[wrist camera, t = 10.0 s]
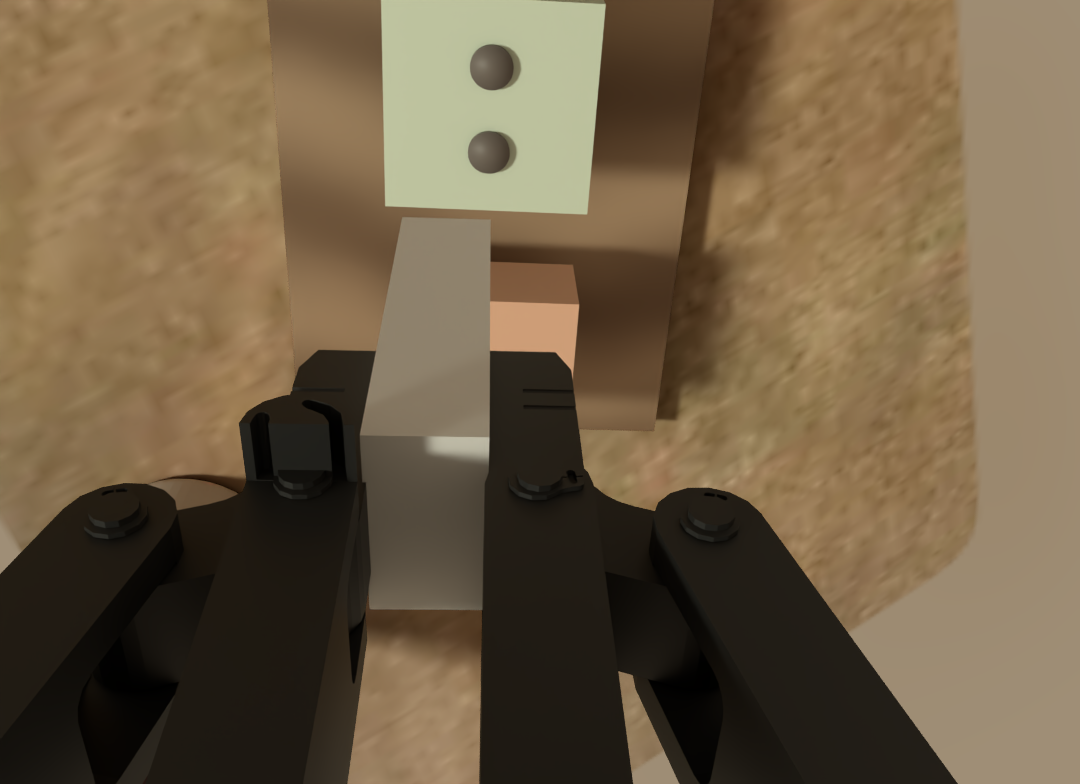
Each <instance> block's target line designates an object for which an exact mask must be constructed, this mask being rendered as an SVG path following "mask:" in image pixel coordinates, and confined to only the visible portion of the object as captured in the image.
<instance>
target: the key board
mask: <svg viewBox="0 0 1080 784" xmlns="http://www.w3.org/2000/svg"><path fill="white" fill-rule="evenodd" d="M714 1H715V0H604V2H605V4H606V7H605V18H604V30H603V41H602V52H601V64H600V75H599V86H598V98H597V109H596V120H595V132H594V143H593V154H592V166H591V177H590V188H589V200H588V211H587V215H586V214H562V213H538V212H514V211H490V210H466V209H441V208H417V207H393V206H385V172H384V121H383V71H382V21H381V0H267V3H268V16H269V29H270V43H271V56H272V70H273V83H274V96H275V110H276V123H277V137H278V150H279V163H280V177H281V190H282V204H283V217H284V230H285V244H286V257H287V270H288V284H289V297H290V311H291V324H292V337H293V351H294V364H295V378H296V375H297V371H298V368H299V367H300V366H301V365H302V364H303V363H304V362H305V361H306V360H308V359H309V358H310V357H311V356H312V355H313V354H314V353H315V352H317V351H318V350H355V351H376V349H377V344H378V339H379V334H380V329H381V324H382V319H383V313H384V308H385V303H386V298H387V293H388V288H389V283H390V278H391V272H392V267H393V262H394V257H395V252H396V247H397V242H398V237H399V231H400V226H401V221H402V217H415V218H451V219H487V220H491V232H490V262H511V263H537V264H564V265H573V269H574V275H575V281H576V287H577V294H578V300H579V313H578V324H577V336H576V347H575V358H574V370H573V387H574V395H575V402H576V410H577V418H578V426H579V429H591V430H626V431H654V428H655V421H656V414H657V406H658V399H659V392H660V385H661V378H662V371H663V364H664V357H665V349H666V342H667V335H668V328H669V321H670V314H671V307H672V300H673V292H674V285H675V278H676V271H677V264H678V257H679V250H680V243H681V236H682V228H683V221H684V214H685V207H686V200H687V193H688V186H689V179H690V171H691V164H692V157H693V150H694V143H695V136H696V129H697V122H698V114H699V107H700V100H701V93H702V86H703V79H704V72H705V65H706V58H707V50H708V43H709V36H710V29H711V22H712V15H713V8H714Z"/></svg>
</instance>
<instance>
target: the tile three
mask: <svg viewBox="0 0 1080 784" xmlns="http://www.w3.org/2000/svg"><path fill="white" fill-rule="evenodd" d="M578 313H579V300H578V294H577V287H576V281H575V275H574V269H573V265H564V264H537V263H511V262H490V351H524V352H556V353H557V355H558V356H559V357H560V358H561V359H562V360H563V361H564V362H565V363H566V365H567V366H568V367H569V368H570V369H571V371H572V379H573V370H574V358H575V347H576V336H577V324H578Z"/></svg>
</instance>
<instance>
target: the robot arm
mask: <svg viewBox="0 0 1080 784" xmlns="http://www.w3.org/2000/svg"><path fill="white" fill-rule="evenodd" d="M490 232H491V220H487V219H451V218H415V217H402V221H401V226H400V231H399V237H398V242H397V247H396V252H395V257H394V262H393V267H392V272H391V278H390V283H389V288H388V293H387V298H386V303H385V308H384V313H383V319H382V324H381V329H380V334H379V339H378V344H377V349H376V351H355V350H318V351H317V352H315V353H314V354H313V355H312V356H311V357H310V358H309V359H308V360H306V361H305V362H304V363H303V364H302V365H301V366H300V367H299V368H298V371H297V375H296V378H295V381H294V384H293V387H292V391H291V394H290V395H286V396H281V397H278V398H274V399H271V400H268V401H264V402H262V403H261V404H259V405H257V406H256V407H254V408H252V409H251V410H249V411H248V412H247V413H246V414H245V416H244V417H243V418H242V420H241V421H240V422H239V427H240V435H241V443H242V450H243V458H244V465H245V473H246V483H245V486H244V489H243V492H241V493H239V494H237V495H235V496H233V497H230V498H228V499H226V500H222V501H218V502H214V503H211V504H207V505H201V506H196V507H191V508H186V509H181V510H177V507H176V502H175V499H174V498H173V497H171V496H170V495H169V494H168V493H167V492H166V491H165V490H163V489H160V488H157V487H154V486H151V485H148V484H133V483H123V484H118V485H112V486H107V487H102V488H99V489H97V490H94V491H92V492H89V493H87V494H85V495H82V496H80V497H79V498H77V499H76V500H75V501H73V502H72V503H71V504H69V505H68V506H67V507H65V508H64V509H63V510H62V511H61V512H60V513H59V514H58V515H57V516H56V517H55V518H54V519H53V520H52V521H51V522H50V523H49V524H48V525H47V526H46V527H45V528H44V529H43V530H42V531H41V532H40V534H39V535H38V536H37V537H36V538H35V539H34V540H33V541H32V542H31V543H30V544H29V545H28V546H27V547H26V548H25V549H24V550H23V551H22V552H21V553H20V554H19V555H18V556H17V557H16V558H15V559H14V561H12V562H11V564H10V565H9V566H8V567H7V568H6V569H5V570H4V571H3V572H2V573H1V574H0V784H143V782H144V780H145V779H146V777H147V776H148V777H147V780H146V783H145V784H347V781H348V774H349V767H350V760H351V752H352V745H353V738H354V731H355V723H356V716H357V709H358V702H359V694H360V687H361V680H362V673H363V665H364V658H365V651H366V644H367V630H366V614H365V609H366V602H367V596H368V590H369V607H370V609H386V610H482V650H481V714H480V774H479V784H633V780H632V772H631V765H630V757H629V750H628V742H627V735H626V727H625V720H624V712H623V704H622V697H621V689H620V682H619V674H618V671H620V672H624V673H627V674H631V675H633V678H634V683H635V688H636V691H637V693H638V695H639V697H640V699H641V702H642V704H643V706H644V708H645V710H646V712H647V715H648V717H649V719H650V721H651V723H652V725H653V728H654V730H655V732H656V734H657V736H658V738H659V741H660V743H661V745H662V747H663V749H664V751H665V754H666V756H667V758H668V760H669V762H670V764H671V766H672V769H673V771H674V773H675V775H676V777H677V779H678V782H679V783H680V784H958V783H957V782H956V781H955V779H954V778H953V777H952V775H951V774H950V772H949V771H948V770H947V769H946V767H945V766H944V764H943V763H942V761H941V760H940V759H939V758H938V756H937V755H936V753H935V752H934V751H933V749H932V748H931V746H930V745H929V744H928V742H927V741H926V740H925V738H924V737H923V736H922V734H921V733H920V731H919V730H918V729H917V727H916V726H915V724H914V723H913V722H912V720H911V719H910V718H909V716H908V715H907V714H906V712H905V711H904V709H903V708H902V707H901V705H900V704H899V703H898V701H897V700H896V698H895V697H894V696H893V694H892V693H891V691H890V690H889V689H888V687H887V686H886V685H885V683H884V682H883V681H882V679H881V678H880V676H879V675H878V674H877V672H876V671H875V669H874V668H873V667H872V665H871V664H870V663H869V661H868V660H867V659H866V657H865V656H864V654H863V653H862V652H861V650H860V649H859V647H858V646H857V645H856V643H855V642H854V641H853V639H852V638H851V636H850V635H849V634H848V632H847V631H846V630H845V628H844V627H843V625H842V624H841V623H840V621H839V620H838V619H837V617H836V616H835V614H834V613H833V612H832V610H831V609H830V608H829V606H828V605H827V604H826V602H825V601H824V599H823V598H822V597H821V595H820V594H819V593H818V591H817V590H816V588H815V587H814V586H813V584H812V583H811V582H810V580H809V579H808V577H807V576H806V575H805V573H804V572H803V571H802V569H801V568H800V566H799V565H798V564H797V562H796V561H795V560H794V558H793V557H792V555H791V554H790V553H789V551H788V550H787V549H786V547H785V546H784V544H783V543H782V542H781V540H780V539H779V538H778V536H777V535H776V533H775V532H774V531H773V529H772V528H771V527H770V525H769V524H768V522H767V521H766V520H765V518H764V517H763V516H762V514H761V513H760V512H759V511H758V510H757V509H756V508H754V507H753V506H752V505H751V504H750V503H749V502H748V501H746V500H744V499H742V498H740V497H738V496H736V495H734V494H732V493H730V492H726V491H721V490H717V489H712V488H686V489H683V490H680V491H676V492H673V493H670V494H669V495H667V496H666V497H665V498H664V499H662V500H661V501H660V502H658V505H657V507H656V510H655V511H652V510H647V509H643V508H639V507H634V506H631V505H628V504H625V503H621V502H618V501H616V500H614V499H612V498H610V497H608V496H606V495H605V494H603V493H602V492H601V491H599V490H598V489H597V488H596V487H594V486H593V482H592V480H591V478H590V476H589V474H588V472H587V471H586V470H585V469H584V466H583V458H582V450H581V442H580V434H579V426H578V418H577V410H576V402H575V395H574V387H573V379H572V371H571V369H570V368H569V367H568V366H567V365H566V363H565V362H564V361H563V360H562V359H561V358H560V357H559V356H558V355H557V353H556V352H524V351H490Z"/></svg>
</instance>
